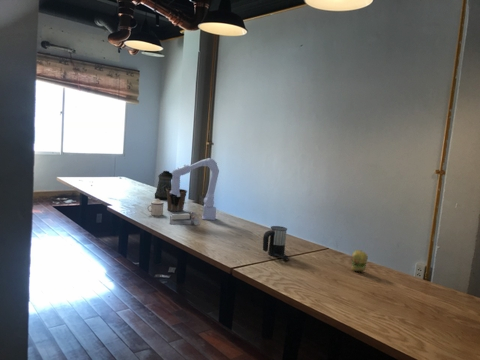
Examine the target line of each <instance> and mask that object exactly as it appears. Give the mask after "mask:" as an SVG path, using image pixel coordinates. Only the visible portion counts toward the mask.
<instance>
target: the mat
mask: <svg viewBox="0 0 480 360" xmlns="http://www.w3.org/2000/svg"><path fill="white" fill-rule="evenodd" d="M171 216H172V215H171ZM171 216H170V217H169V225H176V226H177V225H183V226H192V225H191V219H190V218H189V219H176V220H172V219H171ZM194 217H195V216H194ZM200 224H201V223H200V221H199V217H195V220H194V225H193V226H201V225H200Z"/></svg>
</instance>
